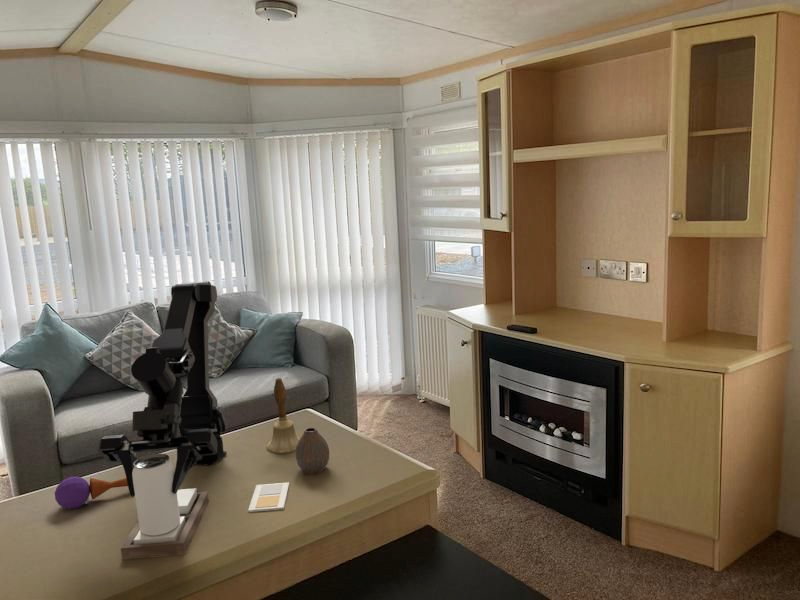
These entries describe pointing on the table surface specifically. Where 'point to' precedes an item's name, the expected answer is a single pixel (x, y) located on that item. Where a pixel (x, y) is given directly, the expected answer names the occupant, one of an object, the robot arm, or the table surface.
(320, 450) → the vase
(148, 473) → the can
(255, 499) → the pattern card
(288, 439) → the hand bell
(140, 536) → the outer pad
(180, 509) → the inner pad
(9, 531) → the table surface
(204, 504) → the button board
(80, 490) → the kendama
